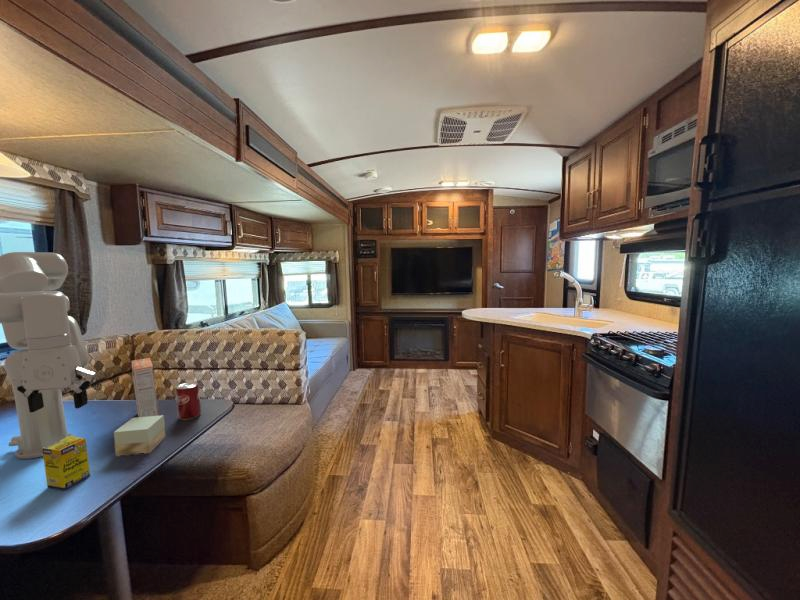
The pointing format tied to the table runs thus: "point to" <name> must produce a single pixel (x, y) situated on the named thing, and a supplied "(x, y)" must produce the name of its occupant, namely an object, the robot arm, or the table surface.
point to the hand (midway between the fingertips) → (59, 408)
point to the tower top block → (139, 430)
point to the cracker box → (144, 387)
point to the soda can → (188, 400)
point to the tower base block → (140, 445)
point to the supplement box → (66, 462)
